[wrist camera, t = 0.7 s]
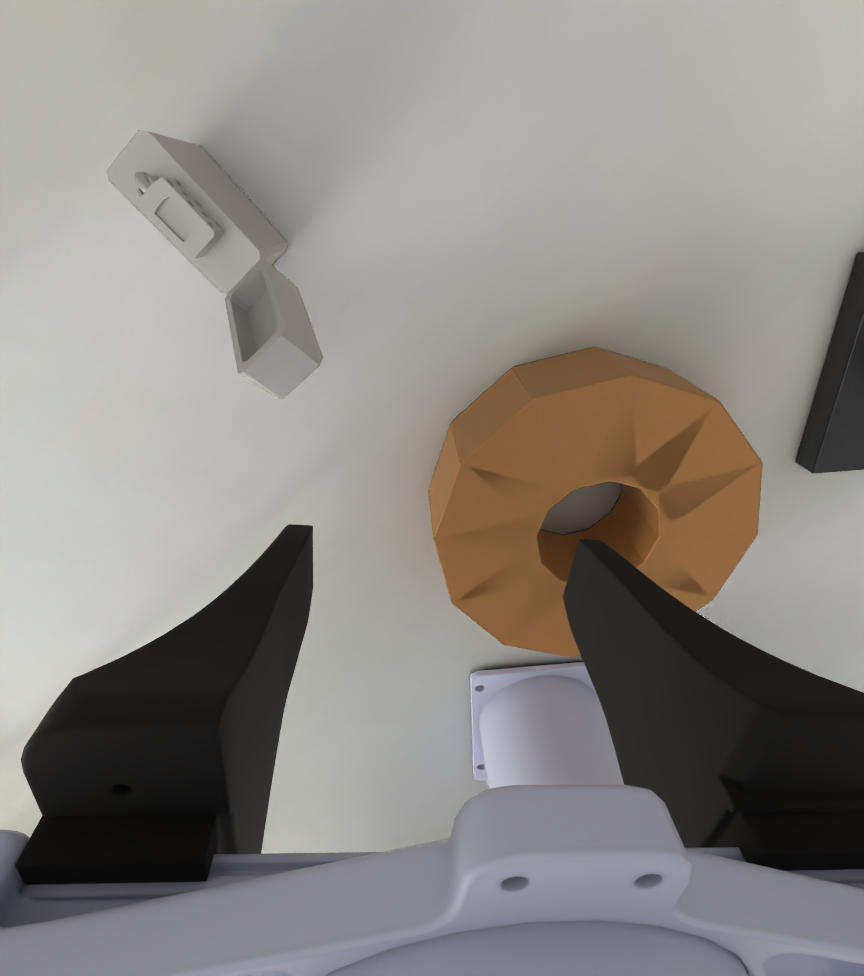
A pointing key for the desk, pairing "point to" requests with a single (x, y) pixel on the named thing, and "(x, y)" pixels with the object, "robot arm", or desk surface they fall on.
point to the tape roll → (580, 463)
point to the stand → (840, 391)
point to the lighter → (224, 253)
